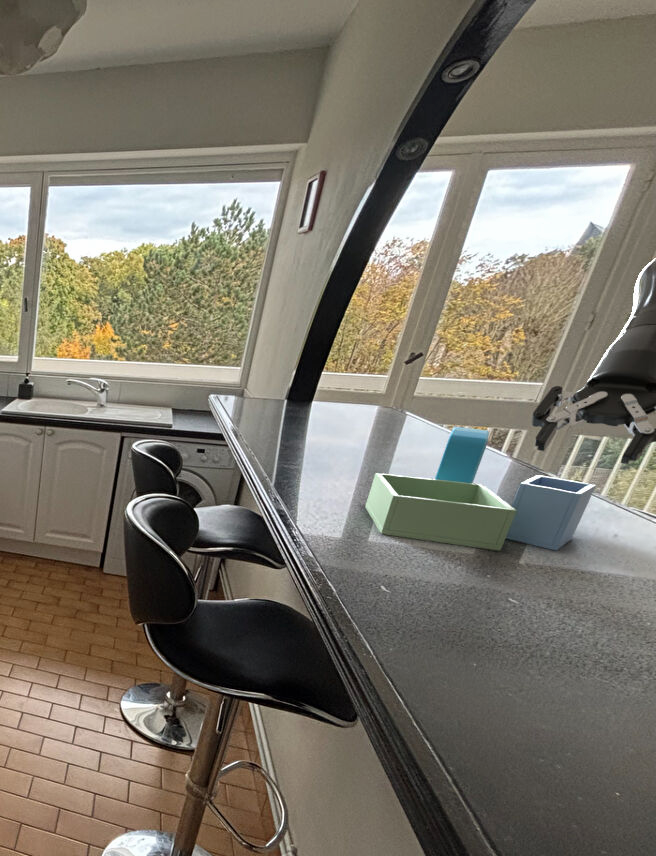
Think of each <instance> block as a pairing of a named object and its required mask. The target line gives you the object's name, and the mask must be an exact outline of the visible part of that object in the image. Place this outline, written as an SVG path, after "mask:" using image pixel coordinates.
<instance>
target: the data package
mask: <svg viewBox="0 0 656 856" xmlns="http://www.w3.org/2000/svg"><path fill="white" fill-rule="evenodd" d="M489 436H490V430H487V429H480V428H471V427H462V426H454V427H452V430H451V432H450V434H449V437H448V440H447V443H446V445H445V449H444V451H443V454H442V457H441V459H440V463H439V465H438V469H437V471H436V475H435V478H434V479H437V480H446V481H455V482H464V483H474V480H475V478H476V475H477V472H478V470H479V467H480V464H481V463H482V462H481V461H482V459H483V456H484V454H485V451H486V449H487V445H488V442H489Z"/></svg>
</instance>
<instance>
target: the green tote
mask: <svg viewBox="0 0 656 856" xmlns="http://www.w3.org/2000/svg"><path fill="white" fill-rule="evenodd" d="M511 506H512V505H511V504H509V503H508V502H507V501H505V500H504V499H503V498H501V497H500V496H498V495H497V494H496V493H495V492H493V491H492V490H490V489H489V488H488V487H487V486H485V485H484V484H482V483H474V482H473V483H464V482H455V481H446V480H437V479H435V478H428V477H427V478H426V477H417V476H407V475H397V474H389V473H379V472H375V474H374V476H373V480H372V484H371V487H370V490H369V493H368V497H367V500H366V503H365V509H366V511H367V512H368V514H369V517H370V518H371V519H372V521H373V523H374V524H375V526H376V527H377V530H378V531H379V533H380V534H381V535H385V536H393V537H400V538H407V539H413V540H422V541H429V542H434V543H435V542H436V543H443V544H450V545H455V546H456V545H457V546H464V547H471V548H476V549H477V548H478V549H484V550H492V551H499V552H501V550H502V548H503V545H504V543H505V540H506V536H507V533H508V531H509V529H510V526H511V524H512V521H513V519H514V516H515V514H516V511H517V510H515V509H514V508H513V507H511Z"/></svg>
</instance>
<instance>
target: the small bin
mask: <svg viewBox="0 0 656 856" xmlns="http://www.w3.org/2000/svg"><path fill="white" fill-rule="evenodd" d="M596 486H597V484H593V483H586V482H582V481H575V480H571V479H570V480H569V479H564V478H558V477H553V476H546V475H541V474H537V475H535V476H533V477H531V478H529V479H526V480H525V481H524V480H523V481H522V482H520V484H519V487H518V489H517V491H516V494H515V496H514V499H513V501H512V504H511V505H510V506H511V507H513V508H514V509H515V510H517V511H516V514H515V516H514V519H513V521H512V524H511V526H510V529H509V531H508V533H507V536H506V538H505V540H511V541H514V542H519V543H523V544H527V545H531V546H536V547H539V548H543V549H548V550H551V551H558V550H559V549H560V548H562V547H563V546H565V545H566V544H567V543H568V542H570V541H571V540H572V539H573V537H574V535H575V532H576V531H577V529H578V526H579V524H580V522H581V520H582V517H583V515H584V512H585V511H586V509H587V507H588V504H589V502H590V500H591V497H592V495H593V493H594V491H595V489H596Z"/></svg>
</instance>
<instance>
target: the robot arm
mask: <svg viewBox="0 0 656 856" xmlns="http://www.w3.org/2000/svg"><path fill="white" fill-rule="evenodd" d="M567 402H571V403H572V404H569V405H567V406H565V408H564V409H562V410H561V411H558V412H556V413H553V411H554V410H555V408H556V407H557V408H560V407H561V406H563V405H564V404H565V403H567ZM655 412H656V258H654V259H653V260H652V261H651V262H649V263H648V264H647V265H646V266H644V268H643V269H642V271H641V272H640V273H639V275H638V278H637V280H636V283H635V286H634V293H633V306H632V312H631V315H630V317H629V319H628V321H627V322H626V323H625V325H624V327H623V329H622V330H621V332H620V333H619V335H618V337H617V338H616V339H615V340H614V342H612V344H611V345H610V346H609V347H608V349H606V352H605V353H604V354H603V356H602V358H601V360H600V361H599V363H598V364H597V366H596V367H595V369H594V371H593V372H592V373H591V375H590V377H589V379H588V380H587V382H586V383H585V385H584V387H582V388H581V389H579V390H577V391H576V392H574V391H567V390H563V387H562V386H559V385H556V386H553V387H551V388H550V390H549V391H548V392H547V393H546V395H545V396H544V397H543V399H542V400H541V402H540V403H539V404H538V405H537V407H536V408H535V409H534V410H533V412H532V417H531V426H532V427H535V428H536V427H537V428H538V427H540V428H541V429H540V430H539V432H538V433H537V434H536V436H535V441H534V447H537V451H541V452H545V451H546V450H547V449H548V446H549V445H550V444H551V441H552V440H553V438H554V437H555V436H556V434H557V431H559V430H561V429H563V428H566V427H573V426H575V425H578V424H580V423H583V422H586V424H593V425H596V424H597V425H598V424H599V425H605V426H611V427H618V426H622V425H623V426H624V427H625V429H626V431H627V432H628V433H629V434H630V435H632V436H633V437H632V439H631V441H630V442H629V444H628V446H627V447H626V449H625V451H624V452H623V454H622V456H621V460H620V464H625V465H629V464H630V463H631V462H636V461H638V460H640V458H641V456H642V455H643V453H644V452H645V450H646V449H647V447H648V446H649V444H653V443H656V427H654V426H653V425H652V424H651V422H650V421H649V419H648V417H649V416H648V415H650V414H652V413H655ZM552 413H553V414H552Z"/></svg>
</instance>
